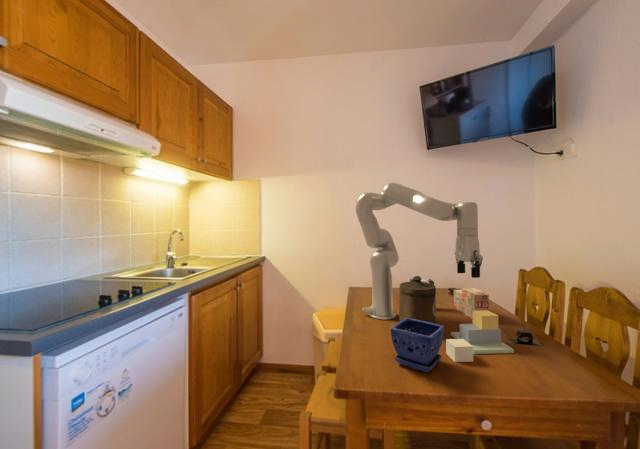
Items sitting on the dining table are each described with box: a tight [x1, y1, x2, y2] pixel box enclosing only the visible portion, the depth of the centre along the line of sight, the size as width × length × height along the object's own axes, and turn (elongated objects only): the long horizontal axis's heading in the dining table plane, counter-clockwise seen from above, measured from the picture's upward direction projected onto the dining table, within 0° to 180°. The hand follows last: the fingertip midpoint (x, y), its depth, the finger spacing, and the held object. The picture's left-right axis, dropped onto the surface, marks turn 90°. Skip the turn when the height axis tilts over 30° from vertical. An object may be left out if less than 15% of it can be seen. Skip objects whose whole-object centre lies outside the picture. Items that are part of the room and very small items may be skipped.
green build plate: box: [450, 331, 515, 355], centre depth 105 cm, size 14×16×1 cm
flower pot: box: [390, 318, 445, 373], centre depth 91 cm, size 13×13×12 cm
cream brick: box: [445, 338, 474, 363], centre depth 95 cm, size 6×6×5 cm
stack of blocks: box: [452, 287, 490, 320], centre depth 139 cm, size 21×6×12 cm, turn 179°
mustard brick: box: [472, 309, 499, 330], centre depth 105 cm, size 6×6×5 cm
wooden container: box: [398, 275, 437, 335], centre depth 121 cm, size 15×15×22 cm
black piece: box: [507, 329, 543, 347], centre depth 106 cm, size 12×7×5 cm, turn 76°
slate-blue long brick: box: [459, 323, 502, 344], centre depth 105 cm, size 12×6×5 cm, turn 92°
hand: (468, 275), depth 115 cm, fingers open, 9 cm apart
